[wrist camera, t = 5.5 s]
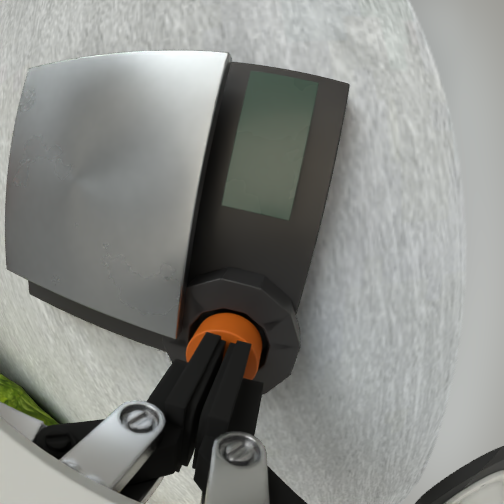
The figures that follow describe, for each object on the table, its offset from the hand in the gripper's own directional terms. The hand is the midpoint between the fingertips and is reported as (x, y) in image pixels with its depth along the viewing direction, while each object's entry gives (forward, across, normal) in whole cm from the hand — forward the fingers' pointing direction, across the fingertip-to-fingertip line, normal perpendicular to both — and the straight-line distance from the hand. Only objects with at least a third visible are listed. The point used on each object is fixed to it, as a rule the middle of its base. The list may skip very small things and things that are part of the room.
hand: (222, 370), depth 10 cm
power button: (+2, 0, 0) cm, 2 cm away
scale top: (+1, +6, -6) cm, 8 cm away
